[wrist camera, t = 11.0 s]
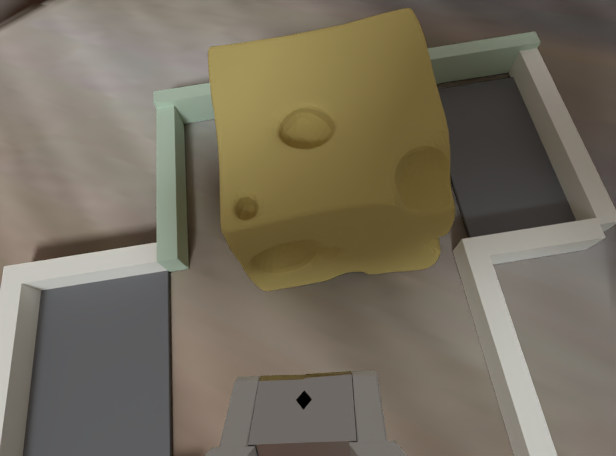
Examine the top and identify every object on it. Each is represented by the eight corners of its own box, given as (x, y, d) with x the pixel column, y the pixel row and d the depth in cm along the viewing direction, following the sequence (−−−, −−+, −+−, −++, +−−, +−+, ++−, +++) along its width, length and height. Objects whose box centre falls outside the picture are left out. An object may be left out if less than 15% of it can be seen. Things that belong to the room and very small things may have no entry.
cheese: (431, 271, 25) (488, 194, 15) (251, 300, 25) (202, 239, 15) (391, 128, 29) (418, -1, 19) (238, 153, 29) (192, 35, 19)
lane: (520, 59, 30) (535, 31, 28) (726, 512, 19) (780, 527, 17) (45, 134, 30) (21, 112, 28) (-18, 629, 19) (-66, 660, 17)
